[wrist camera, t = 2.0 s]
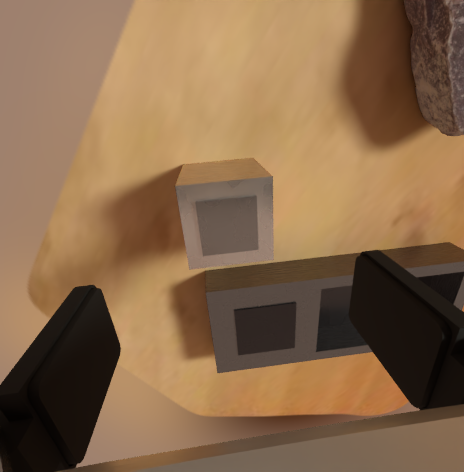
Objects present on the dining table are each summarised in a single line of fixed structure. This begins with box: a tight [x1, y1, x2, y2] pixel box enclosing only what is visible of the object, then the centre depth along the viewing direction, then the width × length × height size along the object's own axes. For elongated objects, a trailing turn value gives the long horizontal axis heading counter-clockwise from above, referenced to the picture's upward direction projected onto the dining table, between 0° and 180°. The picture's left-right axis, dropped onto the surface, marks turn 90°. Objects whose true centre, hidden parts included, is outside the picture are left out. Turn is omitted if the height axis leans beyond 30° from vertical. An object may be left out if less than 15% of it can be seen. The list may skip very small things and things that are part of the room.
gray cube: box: [175, 158, 273, 269], centre depth 17 cm, size 5×5×6 cm
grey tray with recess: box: [206, 242, 464, 373], centre depth 24 cm, size 9×22×3 cm, turn 95°
